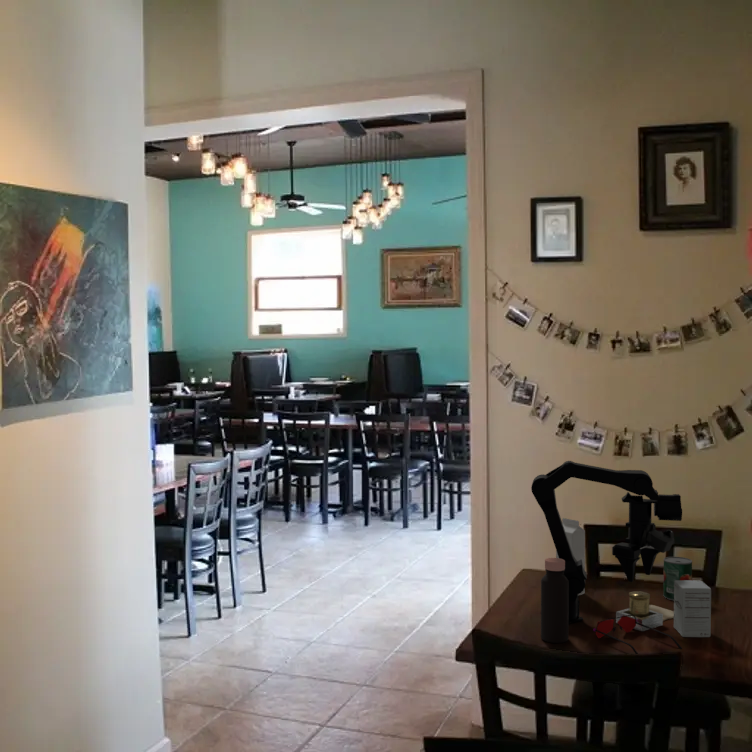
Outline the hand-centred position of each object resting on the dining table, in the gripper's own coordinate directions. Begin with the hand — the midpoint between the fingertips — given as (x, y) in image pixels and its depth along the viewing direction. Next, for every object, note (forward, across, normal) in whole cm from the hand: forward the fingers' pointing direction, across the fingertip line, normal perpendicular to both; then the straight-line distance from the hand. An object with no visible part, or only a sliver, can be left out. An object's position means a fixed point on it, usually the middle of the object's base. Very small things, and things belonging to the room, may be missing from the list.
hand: (639, 578), depth 237 cm
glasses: (+13, -14, -7) cm, 20 cm away
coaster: (+12, +11, +1) cm, 16 cm away
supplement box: (+12, +3, -13) cm, 18 cm away
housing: (+12, 0, 0) cm, 12 cm away
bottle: (+12, -25, +10) cm, 30 cm away
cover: (+12, 0, 0) cm, 12 cm away
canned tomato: (+12, +30, +4) cm, 32 cm away
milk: (+12, +12, +28) cm, 33 cm away
